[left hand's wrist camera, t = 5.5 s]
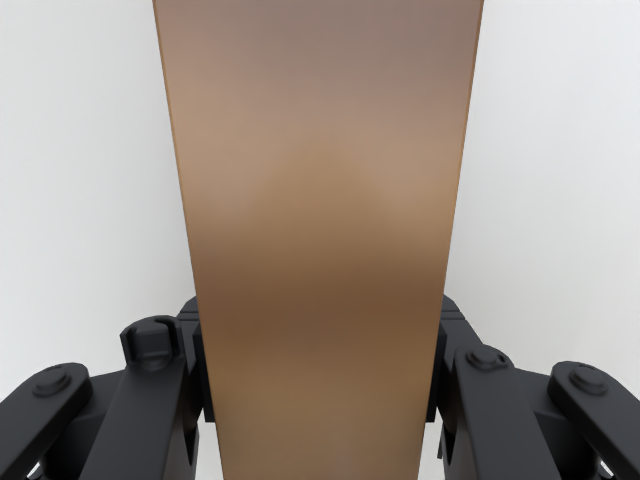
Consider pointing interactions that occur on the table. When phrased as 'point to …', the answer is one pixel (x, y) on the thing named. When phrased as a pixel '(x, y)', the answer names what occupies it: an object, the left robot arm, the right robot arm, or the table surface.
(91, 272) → the table surface
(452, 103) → the post
